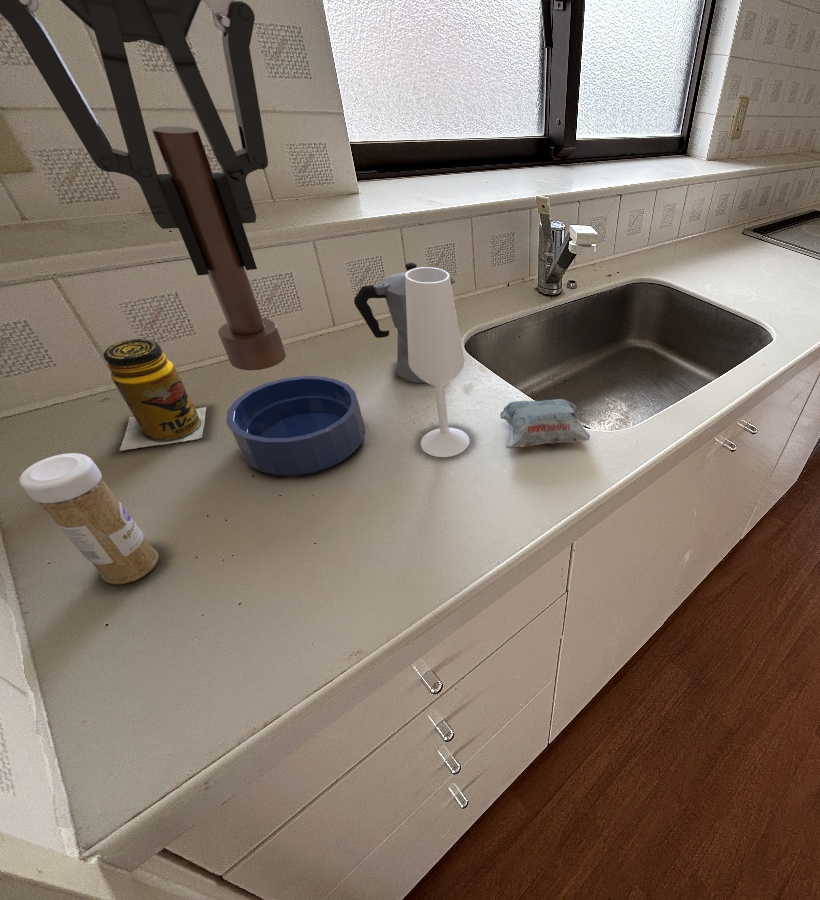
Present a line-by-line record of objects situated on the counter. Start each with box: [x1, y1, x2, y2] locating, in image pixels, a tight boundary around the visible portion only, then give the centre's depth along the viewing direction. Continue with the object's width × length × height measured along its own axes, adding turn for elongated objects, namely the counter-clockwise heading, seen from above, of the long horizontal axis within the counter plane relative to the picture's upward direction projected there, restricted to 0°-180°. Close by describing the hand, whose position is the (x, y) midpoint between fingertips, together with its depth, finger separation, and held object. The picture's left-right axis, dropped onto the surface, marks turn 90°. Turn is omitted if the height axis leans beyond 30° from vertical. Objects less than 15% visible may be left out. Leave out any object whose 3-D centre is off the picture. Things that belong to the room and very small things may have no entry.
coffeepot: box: [353, 262, 456, 384], centre depth 78 cm, size 15×9×18 cm, turn 129°
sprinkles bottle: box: [18, 452, 160, 585], centre depth 46 cm, size 5×5×13 cm
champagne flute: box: [405, 266, 470, 458], centre depth 63 cm, size 7×7×24 cm
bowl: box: [225, 375, 366, 477], centre depth 65 cm, size 15×15×6 cm
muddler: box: [151, 126, 287, 371], centre depth 40 cm, size 4×4×18 cm
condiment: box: [103, 338, 207, 452], centre depth 62 cm, size 7×8×12 cm
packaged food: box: [499, 398, 591, 449], centre depth 72 cm, size 9×12×5 cm
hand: (225, 265), depth 40 cm, fingers closed on muddler, 3 cm apart
